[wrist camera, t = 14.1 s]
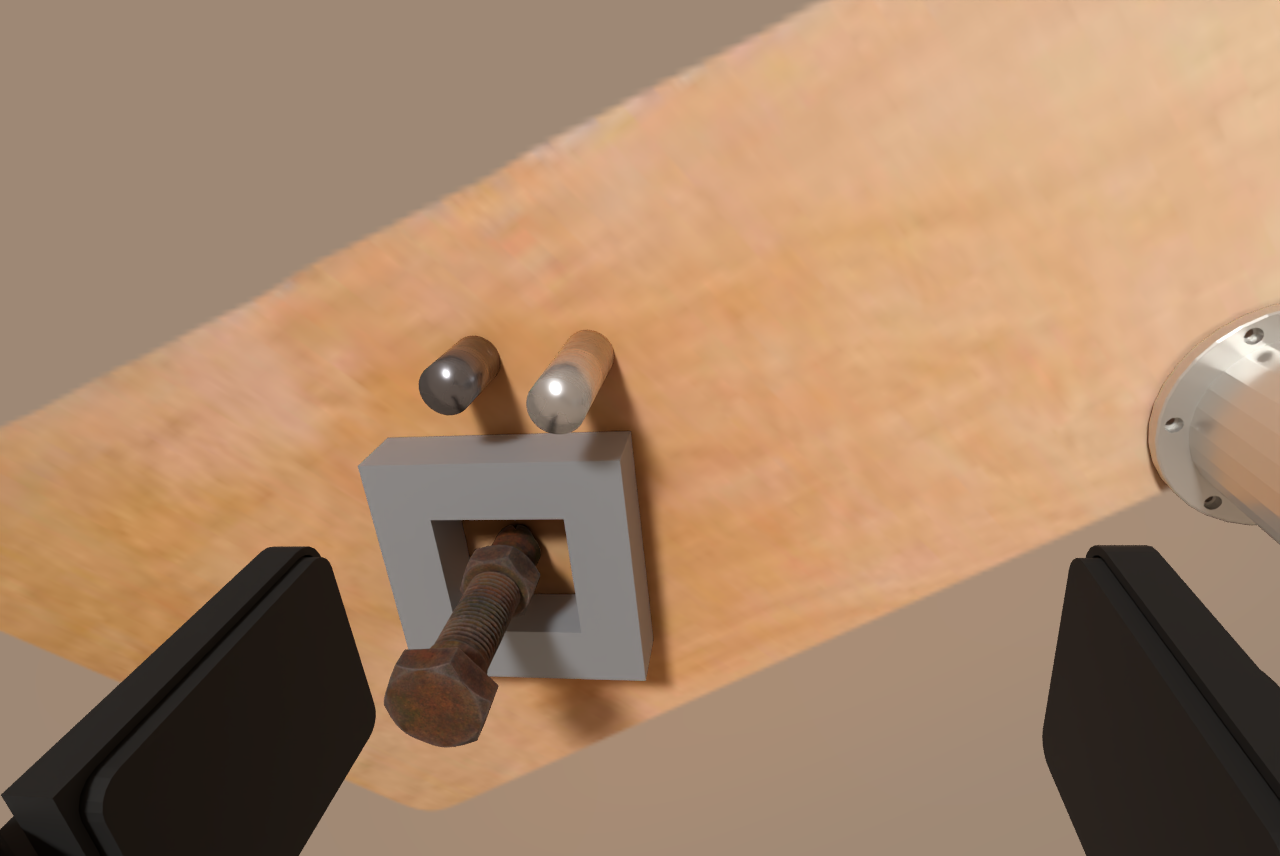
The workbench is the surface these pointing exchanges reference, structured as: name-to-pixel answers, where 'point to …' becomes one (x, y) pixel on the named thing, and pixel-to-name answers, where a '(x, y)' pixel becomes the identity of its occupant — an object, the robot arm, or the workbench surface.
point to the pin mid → (570, 383)
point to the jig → (515, 490)
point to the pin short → (459, 375)
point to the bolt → (465, 646)
